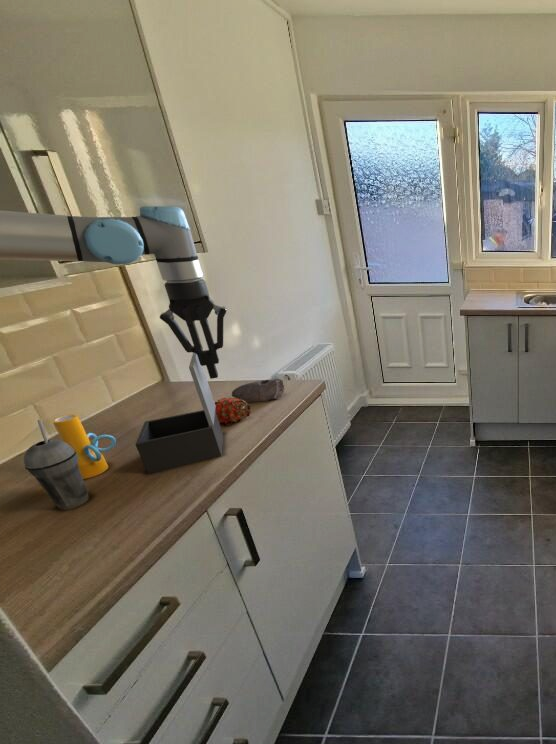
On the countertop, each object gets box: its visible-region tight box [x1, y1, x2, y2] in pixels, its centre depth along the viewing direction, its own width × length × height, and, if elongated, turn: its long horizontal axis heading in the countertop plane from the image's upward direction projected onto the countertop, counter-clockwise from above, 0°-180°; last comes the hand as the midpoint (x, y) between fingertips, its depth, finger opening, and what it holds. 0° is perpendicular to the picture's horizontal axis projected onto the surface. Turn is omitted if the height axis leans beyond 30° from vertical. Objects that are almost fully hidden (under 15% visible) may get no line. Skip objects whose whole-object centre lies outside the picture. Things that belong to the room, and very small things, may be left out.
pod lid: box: [188, 352, 216, 426], centre depth 103 cm, size 16×13×1 cm
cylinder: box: [51, 413, 117, 480], centre depth 95 cm, size 12×10×15 cm
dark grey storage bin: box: [135, 409, 224, 475], centre depth 104 cm, size 15×13×9 cm
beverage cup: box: [23, 419, 90, 511], centre depth 84 cm, size 7×7×20 cm
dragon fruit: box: [214, 396, 252, 426], centre depth 120 cm, size 8×8×12 cm
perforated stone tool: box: [231, 378, 285, 404], centre depth 133 cm, size 15×5×7 cm, turn 107°
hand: (214, 376), depth 103 cm, fingers closed
